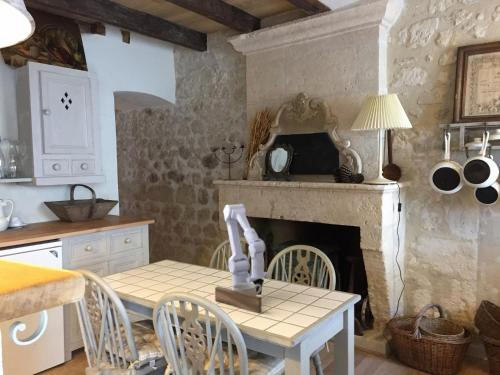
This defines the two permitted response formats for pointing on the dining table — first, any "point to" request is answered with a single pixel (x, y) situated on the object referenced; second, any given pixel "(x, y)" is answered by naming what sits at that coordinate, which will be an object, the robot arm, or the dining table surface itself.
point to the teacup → (247, 288)
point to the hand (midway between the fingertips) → (258, 294)
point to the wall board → (238, 299)
